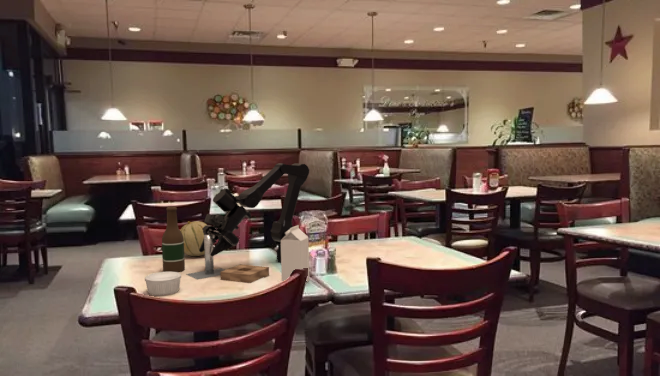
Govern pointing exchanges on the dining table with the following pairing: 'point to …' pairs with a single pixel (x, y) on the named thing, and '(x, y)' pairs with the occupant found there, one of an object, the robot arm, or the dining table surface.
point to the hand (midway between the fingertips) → (205, 253)
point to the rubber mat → (202, 274)
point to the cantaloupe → (193, 238)
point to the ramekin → (163, 283)
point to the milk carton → (294, 252)
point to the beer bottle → (173, 244)
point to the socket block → (245, 273)
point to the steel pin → (208, 254)
